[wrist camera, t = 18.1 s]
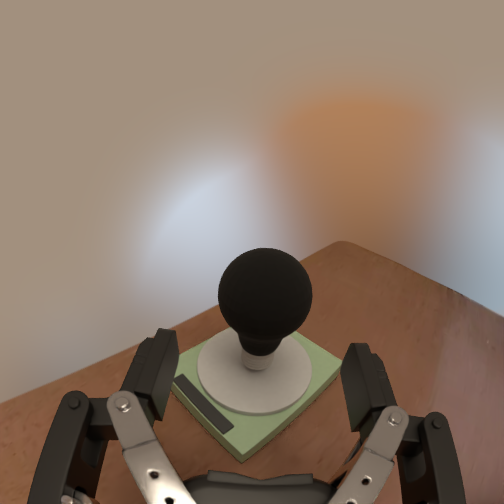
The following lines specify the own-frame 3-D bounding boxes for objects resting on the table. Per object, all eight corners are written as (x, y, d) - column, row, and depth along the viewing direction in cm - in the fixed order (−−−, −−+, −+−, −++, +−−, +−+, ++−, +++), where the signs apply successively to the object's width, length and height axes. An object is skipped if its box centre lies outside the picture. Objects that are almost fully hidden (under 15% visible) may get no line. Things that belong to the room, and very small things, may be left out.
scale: (241, 463, 15) (243, 452, 14) (162, 380, 21) (157, 360, 20) (337, 376, 23) (346, 357, 22) (260, 323, 29) (262, 303, 28)
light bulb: (256, 329, 24) (266, 225, 20) (307, 365, 21) (339, 258, 16) (203, 361, 20) (197, 249, 16) (256, 409, 17) (274, 298, 12)
